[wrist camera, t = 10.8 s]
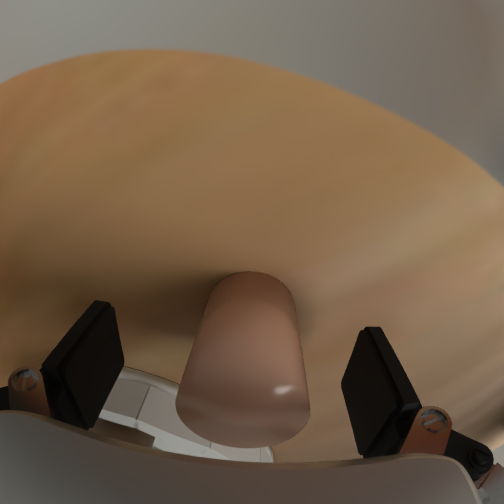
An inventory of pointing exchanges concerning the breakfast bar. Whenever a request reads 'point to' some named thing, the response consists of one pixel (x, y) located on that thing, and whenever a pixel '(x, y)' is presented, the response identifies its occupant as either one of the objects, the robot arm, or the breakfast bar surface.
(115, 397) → the groove tray
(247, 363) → the pinkish-brown rounded piece
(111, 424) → the walnut bead
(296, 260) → the breakfast bar surface
